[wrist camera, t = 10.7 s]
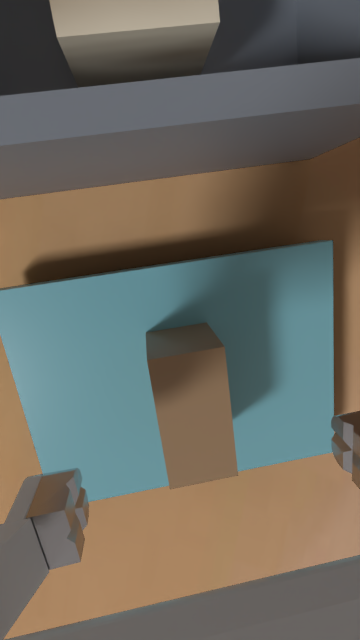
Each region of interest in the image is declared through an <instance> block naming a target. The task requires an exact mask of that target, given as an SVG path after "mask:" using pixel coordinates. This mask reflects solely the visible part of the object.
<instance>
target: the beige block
mask: <svg viewBox="0 0 360 640" xmlns="http://www.w3.org/2000/svg"><path fill="white" fill-rule="evenodd" d="M49 2H50V6H51V11H52V16H53V21H54V26H55V31H56V36H57V39H58V42H59V44H60V46H61V48H62V51H63V53H64V55H65V58H66V60H67V62H68V65H69V67H70V69H71V72H72V74H73V76H74V79H75V81H76V83H77V86H78V88H80V87H90V86H99V85H109V84H118V83H127V82H137V81H146V80H156V79H165V78H175V77H184V76H193V75H200V74H201V72H202V69H203V66H204V64H205V61H206V58H207V56H208V53H209V50H210V48H211V45H212V42H213V40H214V37H215V34H216V32H217V29H218V26H219V24H220V16H219V4H218V0H49Z"/></svg>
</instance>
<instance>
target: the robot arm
mask: <svg viewBox="0 0 360 640" xmlns="http://www.w3.org/2000/svg"><path fill="white" fill-rule="evenodd" d="M331 428H332V429H333V430H334V431H335V432H336V433H335V434H334V436H333V437H332V439H331V447H332V451H333V454H334V457H335V459H336V461H337V462H338V464H339V465H340V466H341V468H342V469H343V470H345V471H347V472H350V473H352V481H353V482H354V483H355V484H356V485H357V487H358V488H359V489H360V411H356V412H351V413H347V414H342V415H337V416H333V418H332V420H331ZM81 483H82V475H81V472H80V469H78V468H73V469H67V470H61V471H56V472H50V473H45V474H40V475H35V476H29V477H27V478H26V479H25V480H24V481H23V484H22V486H21V488H20V490H19V492H18V494H17V497H16V499H15V501H14V503H13V505H12V508H11V510H10V512H9V514H8V516H7V518H6V521H5V523H4V524H0V640H3V639H4V637H5V636H6V634H7V633H8V631H9V630H10V628H11V627H12V626H13V624H14V623H15V621H16V620H17V618H18V617H19V615H20V614H21V612H22V611H23V609H24V608H25V607H26V605H27V604H28V602H29V601H30V599H31V598H32V596H33V595H34V593H35V592H36V591H37V589H38V588H39V586H40V585H41V583H42V582H43V580H44V579H45V577H46V576H47V574H48V573H49V570H50V569H54V568H58V567H62V566H66V565H70V564H74V563H78V562H81V557H82V552H83V546H84V541H85V538H84V534H83V531H82V530H83V529H84V528H85V527H86V526H87V523H88V517H89V503H88V496H87V492H86V490H85V489H84V488H82V487H81ZM5 640H360V555H357V556H353V557H349V558H345V559H340V560H336V561H332V562H328V563H324V564H319V565H315V566H311V567H307V568H303V569H298V570H294V571H290V572H286V573H282V574H278V575H273V576H269V577H265V578H261V579H257V580H252V581H248V582H244V583H240V584H236V585H231V586H227V587H223V588H219V589H215V590H211V591H206V592H202V593H198V594H194V595H190V596H185V597H181V598H177V599H173V600H169V601H165V602H160V603H156V604H152V605H148V606H144V607H139V608H135V609H131V610H127V611H123V612H118V613H114V614H110V615H106V616H102V617H98V618H93V619H89V620H85V621H81V622H77V623H72V624H68V625H64V626H60V627H56V628H51V629H47V630H43V631H39V632H35V633H31V634H26V635H22V636H18V637H14V638H10V639H5Z"/></svg>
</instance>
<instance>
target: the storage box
mask: <svg viewBox="0 0 360 640" xmlns="http://www.w3.org/2000/svg"><path fill="white" fill-rule="evenodd" d="M218 4H219V16H220V24H219V26H218V29H217V32H216V34H215V37H214V40H213V42H212V45H211V48H210V50H209V53H208V56H207V58H206V61H205V64H204V66H203V69H202V72H201V74H200V75H193V76H184V77H175V78H165V79H156V80H146V81H137V82H127V83H118V84H109V85H99V86H90V87H80V88H78V86H77V83H76V81H75V79H74V76H73V74H72V72H71V69H70V67H69V65H68V62H67V60H66V58H65V55H64V53H63V51H62V48H61V46H60V44H59V42H58V39H57V36H56V31H55V26H54V21H53V16H52V11H51V6H50V2H49V0H0V199H6V198H13V197H21V196H29V195H37V194H44V193H52V192H60V191H67V190H75V189H83V188H90V187H98V186H106V185H114V184H121V183H129V182H137V181H144V180H152V179H160V178H168V177H175V176H183V175H191V174H198V173H206V172H214V171H222V170H229V169H237V168H245V167H252V166H260V165H268V164H276V163H283V162H291V161H299V160H306V159H311V158H314V157H316V156H318V155H321V154H323V153H325V152H327V151H330V150H332V149H334V148H336V147H339V146H341V145H343V144H346V143H348V142H350V141H352V140H355V139H357V138H359V137H360V0H218Z"/></svg>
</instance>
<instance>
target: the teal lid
mask: <svg viewBox="0 0 360 640" xmlns="http://www.w3.org/2000/svg"><path fill="white" fill-rule="evenodd" d="M0 335H1V339H2V342H3V345H4V348H5V352H6V355H7V358H8V361H9V365H10V368H11V371H12V374H13V378H14V381H15V384H16V387H17V391H18V394H19V397H20V400H21V404H22V407H23V410H24V413H25V417H26V420H27V423H28V426H29V430H30V433H31V436H32V439H33V443H34V446H35V449H36V452H37V456H38V459H39V462H40V465H41V469H42V472H43V474H45V473H50V472H56V471H61V470H67V469H73V468H78V469H80V472H81V475H82V483H81V487H82V488H84V489H85V490H86V492H87V496H88V502H90V501H95V500H100V499H105V498H110V497H115V496H120V495H125V494H130V493H135V492H140V491H144V490H149V489H154V488H159V487H164V486H169V487H170V489H174V488H179V487H184V486H189V485H194V484H199V483H204V482H209V481H213V480H218V479H223V478H228V477H233V476H238V471H243V470H248V469H253V468H257V467H262V466H267V465H272V464H277V463H282V462H287V461H292V460H297V459H302V458H307V457H311V456H316V455H321V454H326V453H331V452H333V451H332V447H331V439H332V437H333V436H334V430H333V429H332V428H331V420H332V418H333V416H334V345H333V240H318V241H312V242H305V243H298V244H292V245H285V246H279V247H272V248H265V249H259V250H252V251H245V252H239V253H232V254H225V255H219V256H212V257H205V258H199V259H192V260H185V261H179V262H172V263H165V264H159V265H152V266H146V267H139V268H132V269H126V270H119V271H112V272H106V273H99V274H92V275H86V276H79V277H72V278H66V279H59V280H52V281H46V282H39V283H32V284H26V285H19V286H12V287H6V288H0Z"/></svg>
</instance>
